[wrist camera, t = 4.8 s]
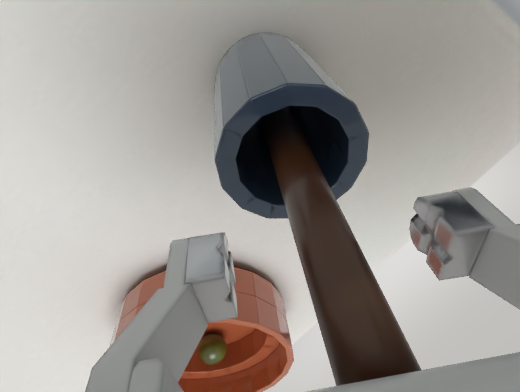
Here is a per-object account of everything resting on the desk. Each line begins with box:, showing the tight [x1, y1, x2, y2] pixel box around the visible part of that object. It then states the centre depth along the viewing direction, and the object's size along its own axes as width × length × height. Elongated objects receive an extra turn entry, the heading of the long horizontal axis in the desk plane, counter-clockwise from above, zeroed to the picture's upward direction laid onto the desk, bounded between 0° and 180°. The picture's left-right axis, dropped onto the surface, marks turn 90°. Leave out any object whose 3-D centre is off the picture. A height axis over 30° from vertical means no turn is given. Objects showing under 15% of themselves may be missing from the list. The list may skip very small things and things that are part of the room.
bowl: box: [110, 267, 294, 392], centre depth 31 cm, size 16×16×6 cm
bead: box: [198, 333, 227, 365], centre depth 33 cm, size 3×3×3 cm
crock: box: [214, 33, 369, 218], centre depth 16 cm, size 6×6×9 cm
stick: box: [260, 106, 421, 386], centre depth 11 cm, size 2×2×20 cm
